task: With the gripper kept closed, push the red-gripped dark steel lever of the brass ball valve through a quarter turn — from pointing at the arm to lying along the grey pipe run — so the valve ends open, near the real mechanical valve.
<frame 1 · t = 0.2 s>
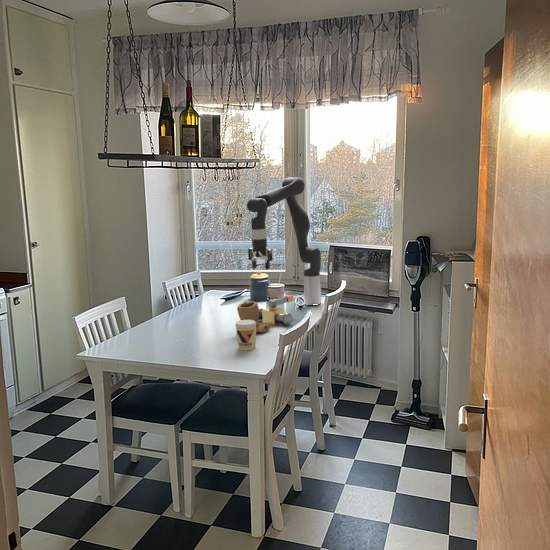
hand: (260, 268, 297), 28 cm above the table, fingers open, 8 cm apart
stone cup: (253, 332, 285), on the table
canister: (260, 299, 354), on the table
valve pipe: (273, 322, 299), on the table
lever: (280, 300, 302), point 10 cm above the table, hinge at 0.0°
coffee cup: (247, 348, 260), on the table
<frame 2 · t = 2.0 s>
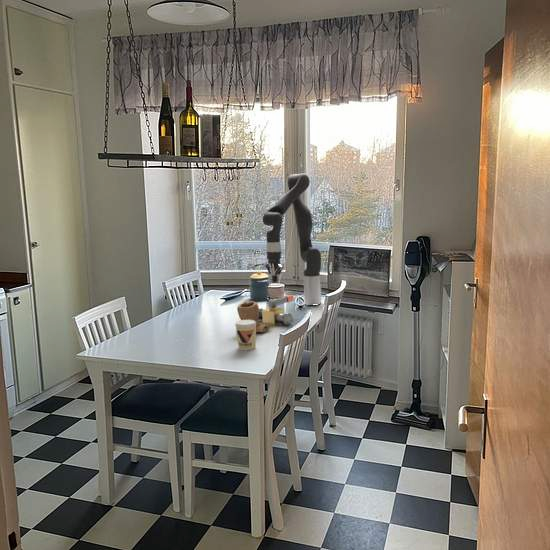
hand: (274, 282, 308), 19 cm above the table, fingers closed
nothing on the table moved.
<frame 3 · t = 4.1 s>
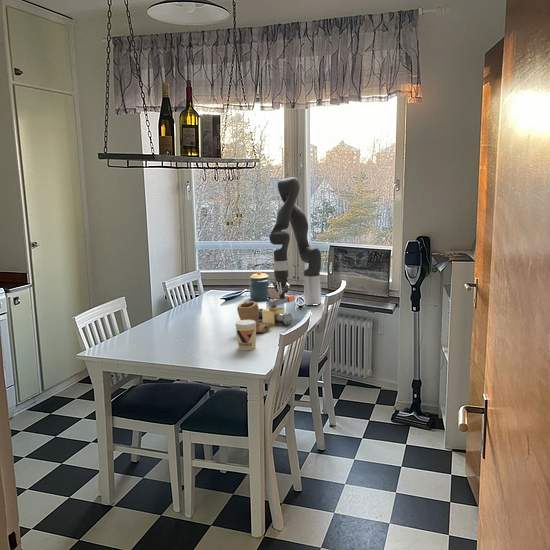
hand: (282, 300, 308), 9 cm above the table, fingers closed
lever: (281, 301, 302), point 10 cm above the table, hinge at 3.4°, touching gripper
everything else where it was.
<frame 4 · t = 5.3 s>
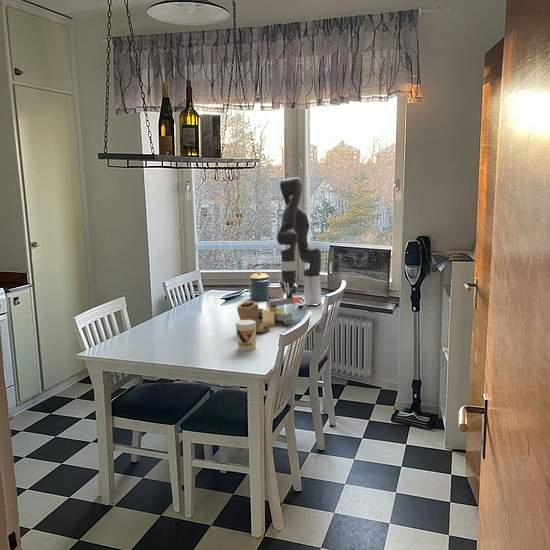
hand: (289, 301, 306), 9 cm above the table, fingers closed
lever: (284, 301, 300), point 10 cm above the table, hinge at 23.8°, touching gripper
everything else where it was.
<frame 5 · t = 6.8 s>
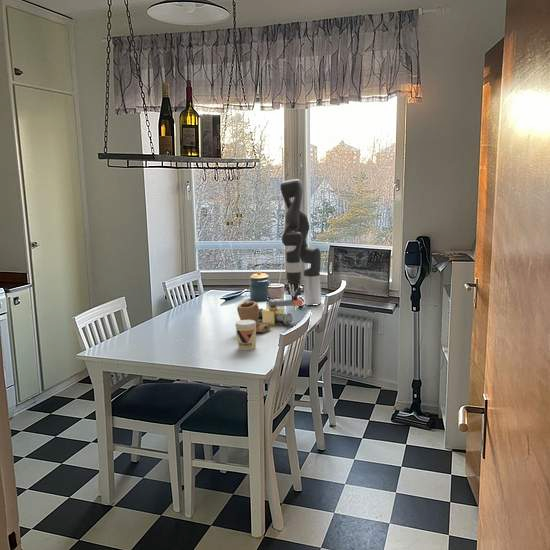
hand: (294, 303, 301), 9 cm above the table, fingers closed
lever: (285, 303, 297), point 10 cm above the table, hinge at 50.3°
everything else where it was.
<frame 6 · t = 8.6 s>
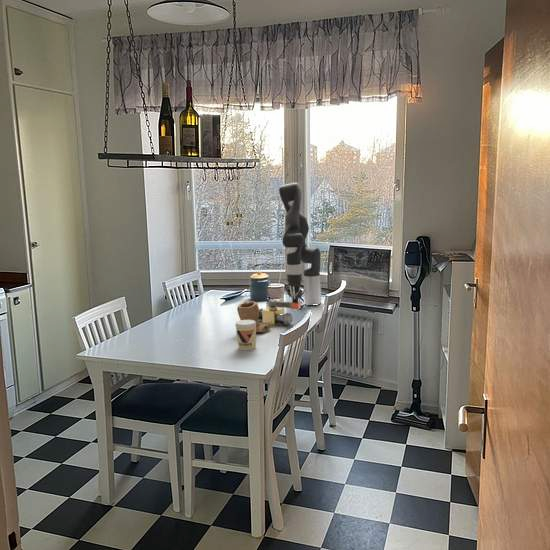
hand: (295, 305, 295), 9 cm above the table, fingers closed
lever: (284, 304, 294), point 10 cm above the table, hinge at 77.0°
everything else where it was.
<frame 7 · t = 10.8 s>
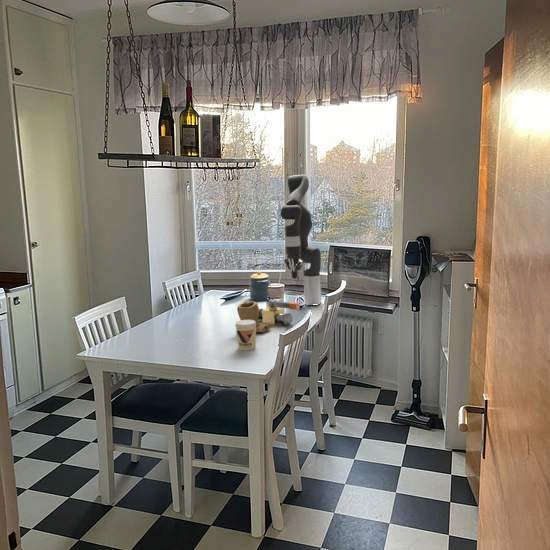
hand: (294, 277, 297), 23 cm above the table, fingers closed
lever: (283, 304, 294), point 10 cm above the table, hinge at 82.9°
everything else where it was.
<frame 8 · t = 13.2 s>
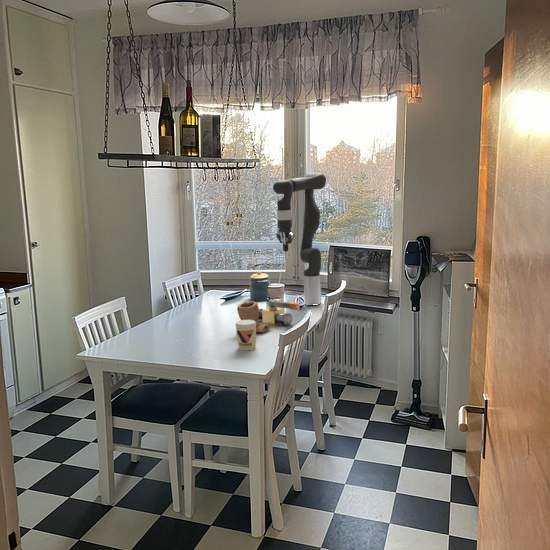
hand: (285, 251, 307), 35 cm above the table, fingers closed
nothing on the table moved.
at the end: lever at +83° (first picture: +0°) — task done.
